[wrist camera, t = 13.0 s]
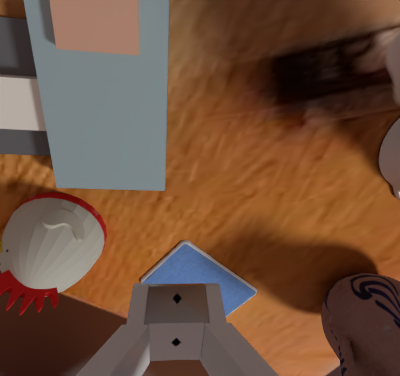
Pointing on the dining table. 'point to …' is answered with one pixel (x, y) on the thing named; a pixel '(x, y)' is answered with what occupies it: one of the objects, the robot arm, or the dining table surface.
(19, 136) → the mat
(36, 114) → the cream card
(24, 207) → the kitchen timer
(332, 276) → the dining table surface
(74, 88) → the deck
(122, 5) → the terracotta card
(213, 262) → the tablet computer
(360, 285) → the ceramic pitcher
